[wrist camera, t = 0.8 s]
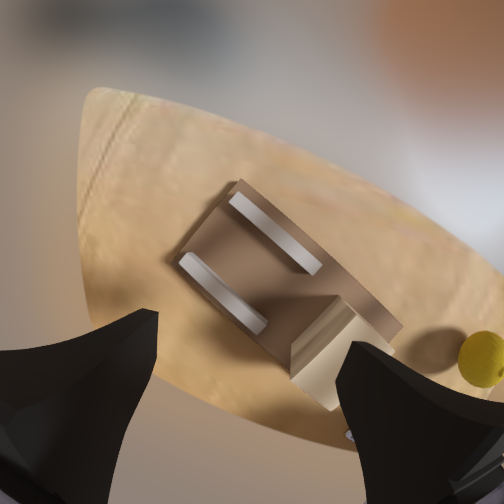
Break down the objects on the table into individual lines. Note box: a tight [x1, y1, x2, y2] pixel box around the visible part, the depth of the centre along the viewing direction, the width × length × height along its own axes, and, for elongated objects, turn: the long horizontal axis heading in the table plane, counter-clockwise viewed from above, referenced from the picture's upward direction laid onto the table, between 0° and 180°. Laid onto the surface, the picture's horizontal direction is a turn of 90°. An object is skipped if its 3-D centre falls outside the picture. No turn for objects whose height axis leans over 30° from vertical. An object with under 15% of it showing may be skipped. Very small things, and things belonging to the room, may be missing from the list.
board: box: [171, 179, 403, 370], centre depth 23 cm, size 20×10×3 cm, turn 49°
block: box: [290, 295, 395, 411], centre depth 19 cm, size 4×6×7 cm, turn 139°
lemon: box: [458, 331, 504, 388], centre depth 18 cm, size 6×6×8 cm
